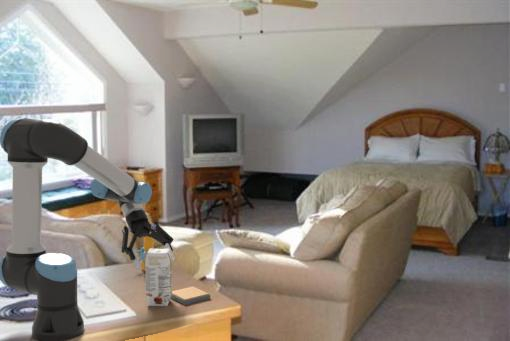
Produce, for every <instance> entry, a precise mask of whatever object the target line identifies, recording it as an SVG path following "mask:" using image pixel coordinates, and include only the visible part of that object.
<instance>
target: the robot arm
mask: <svg viewBox="0 0 510 341" xmlns="http://www.w3.org/2000/svg"><path fill="white" fill-rule="evenodd" d="M0 147H1V149H3V151H4V152H5V153H6V154H7V163H8V164H9V165H10V166H11V167H12V193H11V195H12V198H11V199H12V201H11V203H12V204H11V205H12V206H11V207H12V208H11V209H12V211H11V244H10V245H9V246H8V247H7V248H6V250H5V251H6V252H5V254H4V255H3V257H2V259H1V260H0V282H1V283H2V284H3V285H4V286H5V287H7V288H9V289H11V290H14V291H16V292H22V293H25V294H30V295H33V296H36V304H37V310H36V313H35V316H34V318H33V319H34V320H33V324H32V326H31V335H32V336H31V337H32V338H34V339H35V340H37V341H67V340H71V339H73V338H76V337H78V336H80V335H81V334H83V333H84V331H85V323H84V322H85V321H84V318H83V316H82V314H81V310H80V308H79V306H78V269H77V263H76V260H75V259H74V258H73V257H72V256H70V255H68V254H65V253H60V252H59V253H55V252H48V253H47V248H46V246H45V245H44V244H43V243H42V212H43V211H42V210H43V209H42V205H43V204H42V202H43V201H42V200H43V198H42V197H43V196H42V194H43V168H44V167H45V166H46V165H47V163H48V159H51V160H56V161H60V162H62V163H64V164H65V165H66V166H74V167H76V168H77V169H79V170H80V171H82V172H83V173H85V175H87V176H90V177H91V178H92V179H93V180H92V181H91V183H90V184H91V185H90V192H91V194H92V196H94V197H96V198H99V199H103V200H107V201H112V202H117V203H118V205H119V207H120V210H121V212H122V214H123V216H124V219H125V222H126V224H127V225H124V227H122V230H121V233H122V243H121V253H123V254H124V253H125V254H126V255H128V256H129V259H130V261H132V262H133V263H134V266H135V268H136V270H139V269H140V268H142V262H141V260H139V258H140V257H139V255H138V252H137V253H136V251H137V250H136V249H135V248H134V245H135V243H136V241H137V239H138V238H144V237H147V236H149V237H152V238H153V239H154V241H156V242H159V243H160V244H161V245H163V249H170V252H171V257H172V263H173V262H174V260H175V259H176V257H175V255H174V252H173V251H174V248H173V246H172V243H173V241H174V238H173V237H172V236H171V235H170V234H169V232H167V231H165V229H164V228H163V227H161V226H160V225H159V222H158V221H154V222H152V223H150V221H149V218H148V216H147V214H146V212H145V209H144V207H143V205H145V204H147V203H149V201H151V197H152V194H153V192H152V191H153V190H152V187H151V185H150V184H149V183H147V182H143V181H138V180H136V179H135V178H133V177H132V176H131V175H129V174H127V173H126V171H124V170H123V169H121V168H119V166H117V165H116V164H114V163H113V162H111V161H110V160H109V159H107V158H106V157H105V156H103V155H102V154H101V153H99V152H98V151H96V150H95V149H93V148H92V147H91V146H89V142H88V140H87V139H86V138H84V137H83V136H82V135H80V134H79V133H77V132H76V131H74V130H73V129H71V128H69V127H68V126H66V125H65V124H63V123H61V122H59V121H57V120H52V119H46V118H45V119H44V118H42V119H40V118H28V117H20V118H15V119H12V120H10V121H9V122H7V123H6V124H5V125H4V126H3V127H2V129H1V131H0ZM130 233H131V234H133V235H132V237H131V240H130V242H128V240H129V234H130ZM128 243H129V245H128ZM133 248H134V249H133Z"/></svg>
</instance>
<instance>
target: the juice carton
mask: <svg viewBox="0 0 510 341" xmlns="http://www.w3.org/2000/svg"><path fill="white" fill-rule="evenodd" d="M172 263H173V262H172V257H171V252H170V249H164V248H160V249H158V248H155V247H154V248H150V249H149V251H148V252H147V254H146V260H145V271H144V272H145V275H144V276H145V300H146V303H147V306H148V307H168V306H169V303H170V300H171V299H172V298H171V294H172V291H173V288H172V287H173V286H172V283H173V282H172V278H173V277H172V275H173V274H172V270H173V268H172Z"/></svg>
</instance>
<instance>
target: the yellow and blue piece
mask: <svg viewBox="0 0 510 341" xmlns="http://www.w3.org/2000/svg"><path fill="white" fill-rule="evenodd" d="M154 241H155V239H153V238H152V237H149V236H147V237H143V247H142V246H141V248H140V249H138V250H135V251H136V253H137V254H138V253H140V257H138V258H139V260H140V261H141V270H142V271H143V272H145V260H146V254H147V252H148V251H149V249H150V248H154V249H155V247H154ZM157 249H161V248H157Z"/></svg>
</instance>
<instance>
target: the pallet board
mask: <svg viewBox="0 0 510 341" xmlns="http://www.w3.org/2000/svg"><path fill="white" fill-rule="evenodd" d="M170 299H171V300H174V301H176V302H177V303H180V304H182V305H183V306H187V305H190V304H194V303H198V302H201V301H206V300H209V299H211V294H210V293H208V292H206V291H204V290H202V289H199V288H197V287H196V286H188V287H185V288H180V289H176V290H172V294H171V298H170Z"/></svg>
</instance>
